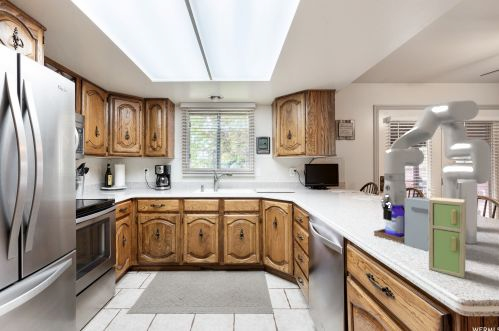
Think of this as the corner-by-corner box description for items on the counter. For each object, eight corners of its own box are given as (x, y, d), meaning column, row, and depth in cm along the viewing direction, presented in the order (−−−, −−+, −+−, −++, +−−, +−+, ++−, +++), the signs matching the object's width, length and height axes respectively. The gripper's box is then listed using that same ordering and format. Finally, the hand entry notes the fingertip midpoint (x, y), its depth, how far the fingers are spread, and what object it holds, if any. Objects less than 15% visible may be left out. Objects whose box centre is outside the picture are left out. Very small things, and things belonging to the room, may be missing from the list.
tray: (387, 232, 107) (387, 227, 107) (414, 239, 97) (414, 234, 97) (374, 235, 102) (374, 231, 102) (401, 243, 92) (401, 238, 92)
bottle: (382, 233, 102) (382, 194, 102) (392, 232, 104) (392, 193, 104) (397, 239, 95) (397, 196, 95) (407, 237, 97) (408, 195, 97)
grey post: (455, 237, 99) (456, 178, 99) (477, 241, 94) (477, 179, 94) (454, 241, 94) (454, 179, 94) (476, 245, 90) (477, 180, 90)
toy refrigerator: (427, 270, 69) (427, 199, 69) (431, 262, 74) (432, 196, 74) (463, 279, 63) (464, 202, 63) (465, 271, 69) (466, 199, 68)
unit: (415, 241, 95) (416, 196, 95) (452, 250, 84) (453, 200, 84) (403, 244, 90) (403, 198, 90) (440, 255, 80) (441, 203, 80)
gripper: (391, 179, 92) (391, 222, 92) (415, 177, 100) (414, 217, 100) (373, 178, 98) (373, 218, 98) (396, 177, 107) (396, 214, 107)
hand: (394, 218), depth 99 cm, fingers open, 9 cm apart
